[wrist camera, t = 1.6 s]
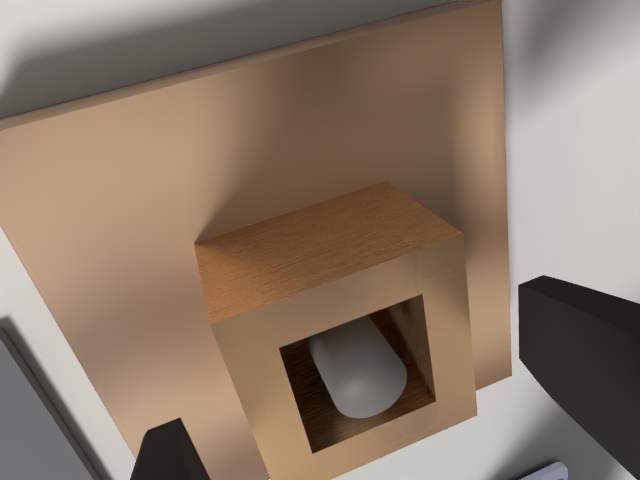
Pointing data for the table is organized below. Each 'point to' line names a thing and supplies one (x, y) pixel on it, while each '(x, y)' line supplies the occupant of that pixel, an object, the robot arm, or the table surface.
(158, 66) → the table surface
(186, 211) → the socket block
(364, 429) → the collar
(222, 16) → the table surface
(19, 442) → the mat
